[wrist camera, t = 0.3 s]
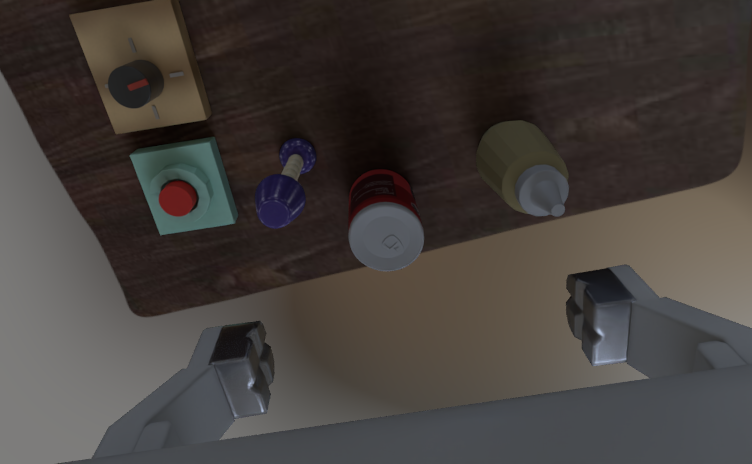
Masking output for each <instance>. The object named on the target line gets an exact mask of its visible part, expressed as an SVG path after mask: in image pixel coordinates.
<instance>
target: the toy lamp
mask: <svg viewBox="0 0 752 464" xmlns="http://www.w3.org/2000/svg"><path fill="white" fill-rule="evenodd" d="M279 157H280V161H281V164H282V165H283V167H284V169H283V172H282V173H281V174H275V175H270V176H268V177H266V178H265V179H264V180H262V181H261V183H260V184H259V185H258V187H257V189H256V193H255V202H256V210H257V215H258V218H259V220H260V221H261V222H262V223H263V224H264V225H266V226H267V227H270V228H281V227H284V226H286V225H287V224H288V223H290V222H291V221H292V220H294V219H295V218H296V217H297V216H298V215H299V214H300V213H301V212H302V210H303V208H304V206H305V192H304V190H303V188H302V186H301V185H300V184H299V182H297V180H298V177H299V175H300V174H303V173H306V172H308V171H309V170H311V169H312V167H313V166H314V164H315V162H316V152H315V150H314V148H313V146H312V145H311V144H310V143H309V142H308V141H306V140H304V139H301V138H293V139H290V140H288V141H286V142H285V143H284V144H283V145H282V147H281V149H280V153H279Z"/></svg>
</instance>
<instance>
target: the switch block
mask: <svg viewBox="0 0 752 464" xmlns="http://www.w3.org/2000/svg"><path fill="white" fill-rule="evenodd" d="M130 158H131V160H132V163H133V165H134V168H135V171H136V173H137V176H138V178H139V181H140V183H141V186H142V189H143V191H144V194H145V196H146V199H147V202H148V204H149V207H150V209H151V212H152V215H153V217H154V220H155V222H156V225H157V228H158V230H159V233H160V235H164V234H170V233H177V232H183V231H190V230H196V229H203V228H209V227H215V226H222V225H228V224H234V223H235V221H236V219H237V217H238V213H237V209H236V206H235V203H234V199H233V196H232V193H231V190H230V186H229V183H228V180H227V176H226V173H225V170H224V166H223V163H222V160H221V156H220V153H219V150H218V147H217V143H216V140H215V137H209V138H202V139H196V140H190V141H184V142H178V143H171V144H165V145H159V146H153V147H147V148H140V149H137V150H136V151H134V152H133V153H132V154H131V155H130ZM172 181H184V182H186V183H188V184H190V185H191V186H192V187H193V188H194V190H195V192H196V195H197V200H196V203H195V205H194V206H193V208H192V209H191V211H190V212H189V213H188V214H186V215H184V216H180V217H176V216H172V215H169V214H167V213H166V212H165V211H164V210H163V209H162V208H161V206H160V204H159V194H160V192H161V191H162V190H163V189H164V187H165V186H166V185H167V184H168V183H170V182H172Z"/></svg>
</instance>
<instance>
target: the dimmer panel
mask: <svg viewBox="0 0 752 464" xmlns="http://www.w3.org/2000/svg"><path fill="white" fill-rule="evenodd" d="M69 16H70V18H71V21H72V24H73V26H74V29H75V31H76V34H77V36H78V39H79V41H80V44H81V47H82V49H83V52H84V54H85V57H86V59H87V62H88V65H89V67H90V70H91V72H92V75H93V77H94V80H95V82H96V85H97V88H98V90H99V93H100V95H101V98H102V100H103V103H104V105H105V108H106V111H107V113H108V116H109V118H110V121H111V123H112V126H113V128H114V131H115V134H121V133H127V132H133V131H140V130H146V129H152V128H158V127H164V126H170V125H177V124H183V123H189V122H195V121H201V120H207V119H208V118H209V117H210V115H211V114H212V111H211V108H210V105H209V101H208V98H207V95H206V91H205V88H204V85H203V81H202V78H201V75H200V71H199V68H198V64H197V61H196V58H195V54H194V51H193V48H192V44H191V41H190V38H189V34H188V31H187V28H186V24H185V21H184V18H183V14H182V11H181V7H180V4H179V1H178V0H152V1H146V2H141V3H135V4H129V5H123V6H117V7H111V8H105V9H100V10H94V11H88V12H82V13H76V14H70V15H69ZM135 60H146V61H149V62H151V63H153V64H154V65H155V66H156V67H157V68H158V69H159V70H160V71H161V73H162V75H163V78H164V88H163V91H162V93H161V94H160V95H159V96H158V97H157V98H155V99H153V100H152V101H150V102H149V103H147V104H146V105H144V106H143V107H140V108H136V109H132V108H127V107H124V106H122V105H121V104H119V103H118V102H117V101H116V100H115V99H114V98H113V97H112V95H111V93H110V91H109V88H108V78H109V75H110V74H111V72H112V71H113V70H114V69H116V68H118V67H120V66H122V65H125V64H127V63H130V62H132V61H135Z"/></svg>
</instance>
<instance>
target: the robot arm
mask: <svg viewBox="0 0 752 464" xmlns="http://www.w3.org/2000/svg"><path fill="white" fill-rule="evenodd" d="M566 283H567V284H566V289H567V290H568V292H569V293H570V295H571V297H570V298H569V299H568V301H567V302H566V314H567V319H568V324H569V327H570V329H571V331H572V333H573V335H574V337H576V338H578V339H580V340H582V350H583V351H584V353H585V355H586V356H587V358H588V360H589V361H590V363H591V365H592V366H598V365H606V364H614V363H623V362H627V364H628V365H630V366H632V367H633V368H635V369H636V370H638V371H639V372H641V373H643V374H644V375H646V376H648V377H649V379H642V380H635V381H629V382H622V383H615V384H608V385H601V386H594V387H587V388H580V389H573V390H566V391H559V392H552V393H545V394H538V395H532V396H525V397H518V398H510V399H503V400H496V401H489V402H482V403H476V404H469V405H462V406H455V407H448V408H441V409H434V410H427V411H420V412H413V413H407V414H399V415H392V416H385V417H378V418H371V419H364V420H357V421H350V422H343V423H336V424H329V425H322V426H315V427H309V428H301V429H294V430H288V431H280V432H274V433H267V434H260V435H253V436H246V437H239V438H232V439H225V440H219V439H220V438H221V437H222V436H223V434H224V433H225V432H226V431H227V429H228V428H229V427H230V426H231V425H232V423H233V422H234V421H235V420H234V419H236V418H243V417H249V416H254V415H260V414H266V413H267V410H268V405H269V400H270V395H271V393H270V390H269V387H268V386H269V385H270V384H271V383H272V382H273V379H274V373H275V372H274V358H273V353H272V350H271V347H270V346H269V345H268V344H266V343H265V337H266V331H265V328H264V325H263V323H262V322H261V321H256V322H248V323H241V324H232V325H225V326H218V327H212V328H206V329H205V330H203V332H202V334H201V336H200V339H199V341H198V343H197V346H196V348H195V350H194V353H193V355H192V358H191V360H190V362H189V365H188V367H187V368H186V369H181V370H180V371H179V372H178V373H176V374H175V375H174V376H172V377H171V378H170V379H169V380H168V381H166V382H165V383H164V384H162V385H161V386H160V387H159V388H157V389H156V390H155V391H154V392H152V393H151V394H150V395H149V396H148V397H146V398H145V399H144V400H143V401H141V402H140V403H139V404H137V405H136V406H135V407H134V408H133V409H131V410H130V411H129V412H127V413H126V414H125V415H124V416H122V417H121V418H120V419H119V420H117V421H116V422H115V423H114V424H112V425H111V426H110V427H109V428H108V429H107V431H106V433H105V435H104V437H103V439H102V440H101V442H100V444H99V446H98V448H97V450H96V452H95V453H94V455H93V457H92V459H86V460H79V461H72V462H65V463H58V464H752V328H750V327H747V326H744V325H741V324H739V323H736V322H733V321H730V320H727V319H725V318H722V317H719V316H716V315H714V314H711V313H708V312H705V311H702V310H700V309H697V308H694V307H692V306H688V305H686V304H683V303H681V302H678V301H675V300H672V299H670V298H667V297H663V298H659V296H658V295H656V294H655V292H654V291H653V290H652V289H651V288H650V287H649V286H648V285H647V284H646V283H645V282H644V281H643V280H642V279H641V277H640V276H639V275H637V273H635V271H634V270H633V269H632V268H631V267H630V266H628V265H620V266H615V267H609V268H606V269H600V270H594V271H588V272H582V273H576V274H570V275H568V277H567V282H566Z"/></svg>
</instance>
